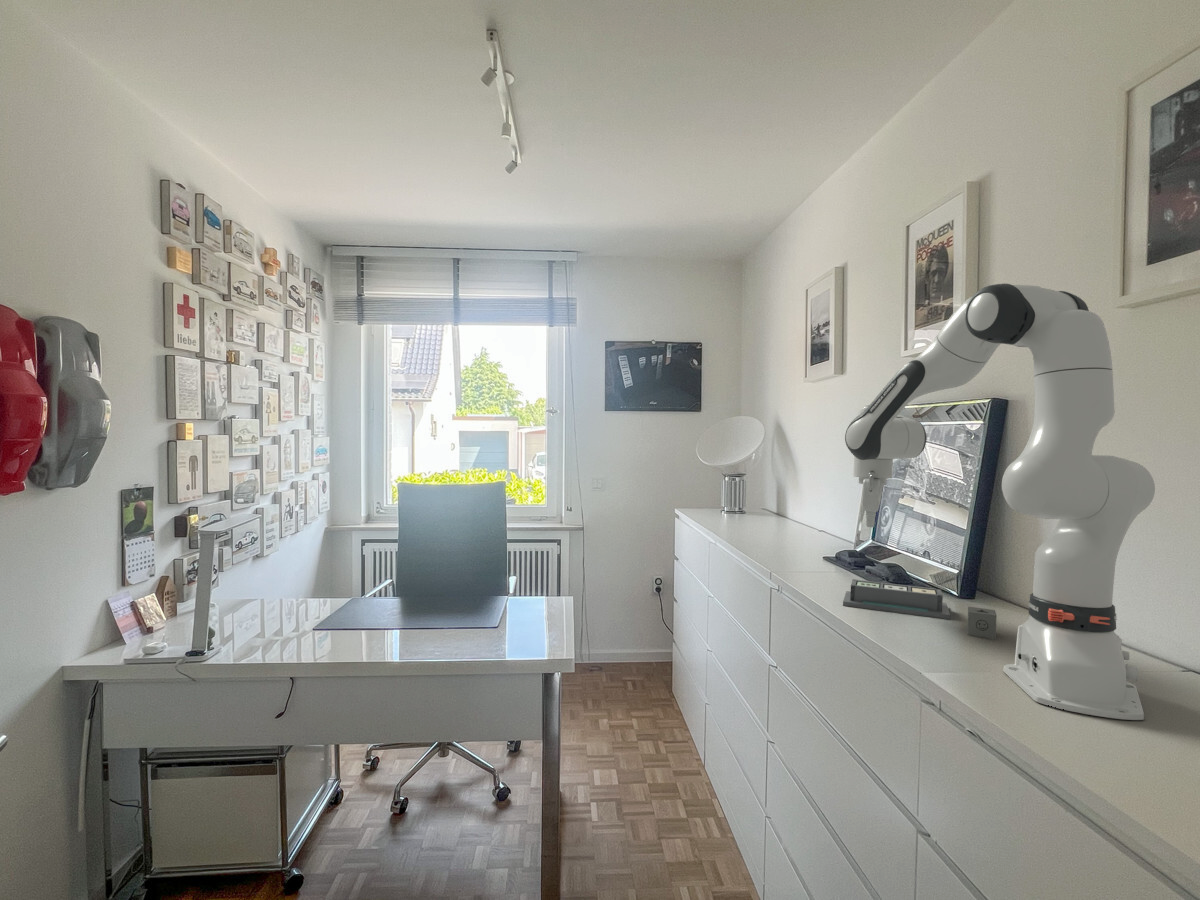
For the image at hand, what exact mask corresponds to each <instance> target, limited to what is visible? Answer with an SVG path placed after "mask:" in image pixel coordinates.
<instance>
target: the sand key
mask: <svg viewBox="0 0 1200 900" xmlns="http://www.w3.org/2000/svg"><path fill="white" fill-rule="evenodd" d="M912 592H920V593H929V594H936V593H935V590H927V589H918V588H912Z"/></svg>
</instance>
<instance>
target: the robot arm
mask: <svg viewBox="0 0 1200 900" xmlns="http://www.w3.org/2000/svg"><path fill="white" fill-rule="evenodd" d="M1103 321H1104V320H1102V318H1101V317H1100V316H1099V315H1098V314H1097V313H1095V312H1093V311H1091V310H1089V307H1088V304H1086V302H1085V301H1084V300H1083V299H1082V298H1081V297H1080V296H1077V295H1076V294H1073V293H1071V292H1068V291H1063V290H1054V289H1051V288H1050V289H1049V288H1045V287H1041V286H1038V285H1030V284H1029V285H1028V284H1011V283H997V284H991V285H987V286H984V287H982V288H981V289H979V290H978V291H976V293H974V294H973V296H970V297H968V298H967V299H966V300H964V301H963V303H962V304H961V305H960V306H959V307H958V308H957V309H956V310H955V311H954V312H953V313H952V314H951V316H950V317H949V318H948V319H947V321H946V322H945V324H943V326H942V328H941V329H939V331H938V333H937V334H936V335H935V338H934V339H933V340H932V341H931V342H930V344H929V345H928V346H927V347H926V348H925V349H924V350H923V351H922V352H921V353H920V354H919V355H917V356H916V357H915V358H914V359H912V360H911V361H909V362H907V363H906V364H904V365H903V366H902V367H901V368H900V369H899V370H897V372H896V373H895V374H894V375H893V376H892V378H891V379H890V380H889V381H888V382H887V383H886V384H885V386H884V388H882V390H881V391H880V392H879V393H878V394H877V395H876V397H875V398H874V400H873V401H872V402H871V403H870V404H869V405H864V406H863V407H861V408H860V409H859V411H858V414H857V416H856V417H855V418H854V419H853V420H852V421H851V422H850V423H849V425H848V427H847V429H846V430H845V433H844V441H845V445H846V447H847V449H848V450H849V452H850V453H851V454H852V455H853V456H854V457H853V459H854V460H853V477H855V478H858V484H860V485H862V494H861V510H862V511H864V512H865V515H866V516H865V517H866V523H865V524H866V527H867V528H875V524H876V516H877V515H876V513H877V512H879V509H880V505H881V501H882V497H883V496H882V495H883V489H884V486H886V485H887V479H892V478H893V468H894V467H893V464H894V460H896V459H897V460H898V459H899V460H902V459H904V460H909V459H913V458H917V457H919V456H920V455H921V454H922V452H923V451H924V449H926V445H927V433H926V432H927V431H926V429H925V427H924V425H923V424H922V422H920V421H919V420H917V419H914V418H911V417H908V416H905V415H902V414H900V413H901V412H902V411H903V410H904V409H905V408H906V406H908V404H909V403H910V402H912V401H914V400H915V399H917V398H919V397H921V396H924V395H927V394H931V393H934V392H939V391H943V390H944V391H945V390H948V389H953V388H954V389H955V388H958V387H962V386H964V385H966V384H967V383H969V382H970V381H972V379H974V378H975V377H976V376H977V375H978V374H979V373H980V372H981V371H982V370H983V368H985V365H987V363H988V362H989V360H990V359H991V357H992V356H993V355H994V353H995V352H996V350H997V349H998V348H999V347H1000V345H1002V344H1004V345H1009V346H1015V347H1017V348H1028V349H1029V350H1030V352H1031V354H1032V358H1033V359H1032V360H1033V396H1034V400H1033V401H1034V402H1033V403H1034V405H1033V409H1034V410H1033V411H1034V412H1033V422H1032V427H1031V432H1030V434H1029V438H1028V440H1027V443H1026V445H1025V447H1024V449H1023V450H1022V452H1021V453H1020V455H1019V456H1018V457H1017V458H1016V459H1015V460H1014V461H1012V462H1011V463H1010V464H1009V465H1008V466H1007V467H1006V469H1005V471H1004V473H1003V476H1002V478H1001V492H1002V495H1003V498H1004V500H1005V501H1006V503H1007V505H1008V506H1009V507H1010V508H1011V509H1012V510H1014V511H1015V512H1016V513H1019V514H1023V515H1027V516H1030V517H1034V518H1039V519H1044V520H1058V522H1057V525H1056V526H1055V528H1054V530H1053V532H1052V534H1051V535H1050V536H1049V538H1047V540H1045V541H1044V542H1042V543H1041V544H1040V545H1039V546H1038V547H1037V549H1036V551H1035V553H1034V563H1033V565H1034V568H1033V581H1032V582H1033V583H1032V585H1033V586H1032V587H1033V588H1032V593H1031V594H1030V595H1029V600H1028V614H1029V617H1028V618H1027V620H1026V621H1025V622H1022V623H1021V624H1020V625H1018V627H1017V635H1016V643H1015V644H1016V645H1015V646H1016V647H1015V656H1014V663H1009V664H1004V665H1003V668H1002V669H1003V672H1004V673H1005V674H1006V675H1007V676H1008V678H1010V679H1011V680H1012V681H1013V682H1014V683H1015V684H1016V685H1017V686H1018V687H1020V689H1021V690H1022V691H1024V692H1025V693H1026V694H1027V695H1028V696H1029V697H1030V698H1031V699H1032V700H1033V701H1035V702H1036V703H1039V704H1042V705H1045V706H1048V705H1049V707H1051V706H1052V707H1051V708H1055V707H1056V708H1055V709H1060V710H1063V709H1064V711H1068V712H1072V713H1079V714H1083V715H1087V716H1088V715H1090V716H1095V717H1102V718H1108V719H1115V720H1128V721H1142V720H1145V712H1144V709H1143V706H1142V702H1141V698H1140V695H1139V692H1138V689H1137V686H1136V685H1135V684H1134V683H1131V682H1129V681H1137V680H1138V677H1139V676H1138V675H1139V673H1138V672H1139V670H1138V666H1137V665H1134V664H1128V663H1125V661H1130V652H1129V651H1125V650H1123V649H1122V642H1123V641H1122V640H1123V638H1121V637H1120V636H1119V635H1118V634H1117V633H1116V632H1115V631H1116V630H1117V620H1118V619H1117V613H1116V606H1115V605H1114V604H1113V599H1114V597H1113V596H1114V583H1115V570H1116V563H1117V560H1118V559H1117V558H1118V555H1119V554H1118V553H1119V551H1120V548H1121V545H1122V543H1123V540H1124V539H1125V536H1126V534H1127V532H1128V530H1129V528H1130V526H1131V524H1132V523H1133V522H1134V520H1135V519H1136V518H1137V517H1138V516H1139V515H1140V514H1141V513H1142V512H1143V511H1144V510H1146V509H1147V508H1148V507H1149V506H1150V505H1151V503H1152V502H1153V500H1154V497H1155V494H1156V485H1155V481H1154V478H1153V476H1152V474H1151V472H1150V471H1149V470H1148V469H1147V468H1146V467H1144V466H1143V465H1142V464H1140V463H1138V462H1135V461H1133V460H1129V459H1125V458H1122V457H1118V456H1114V455H1101V454H1100V455H1099V454H1093V451H1094V450H1093V449H1094V446H1095V445H1094V444H1095V441H1096V439H1097V436H1098V434H1099V432H1100V431H1101V430H1102V429H1103V428H1104V427H1106V426H1108V425H1109V423H1111V422H1112V420H1113V418H1114V416H1115V396H1114V395H1115V394H1114V393H1115V392H1114V377H1113V376H1114V373H1113V359H1112V352H1111V346H1110V342H1109V337H1108V333H1107V331H1106V328H1105V323H1104V322H1103ZM1128 680H1129V681H1128Z"/></svg>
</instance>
